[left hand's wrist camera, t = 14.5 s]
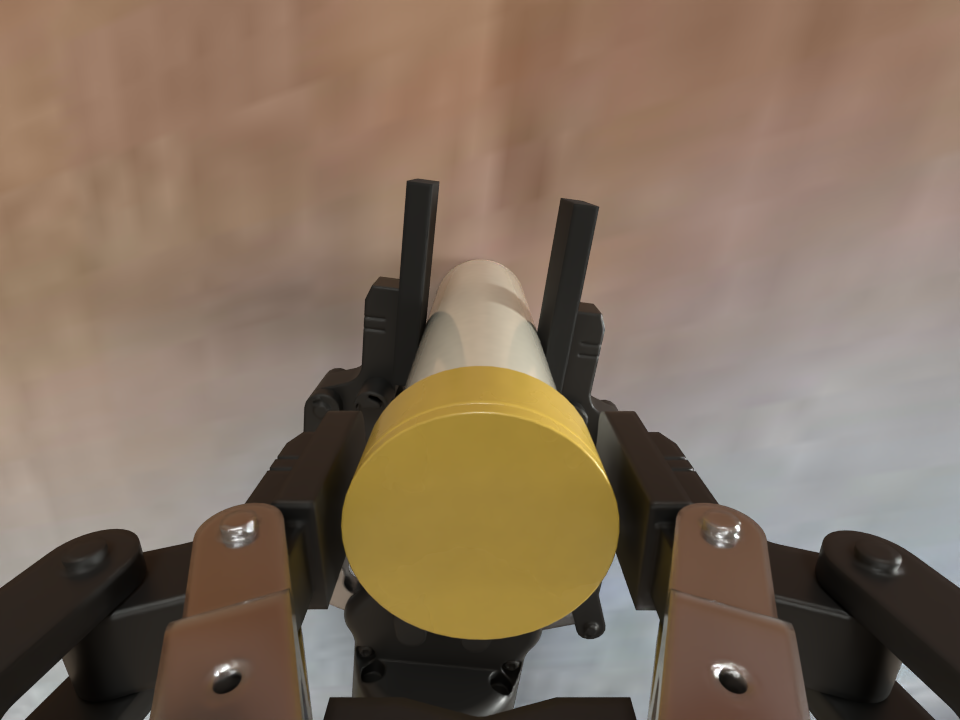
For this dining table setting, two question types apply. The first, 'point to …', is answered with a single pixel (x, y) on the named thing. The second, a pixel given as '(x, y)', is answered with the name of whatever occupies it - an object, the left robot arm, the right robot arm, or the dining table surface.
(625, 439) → the left robot arm
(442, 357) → the white bottle
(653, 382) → the dining table surface
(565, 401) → the lid
